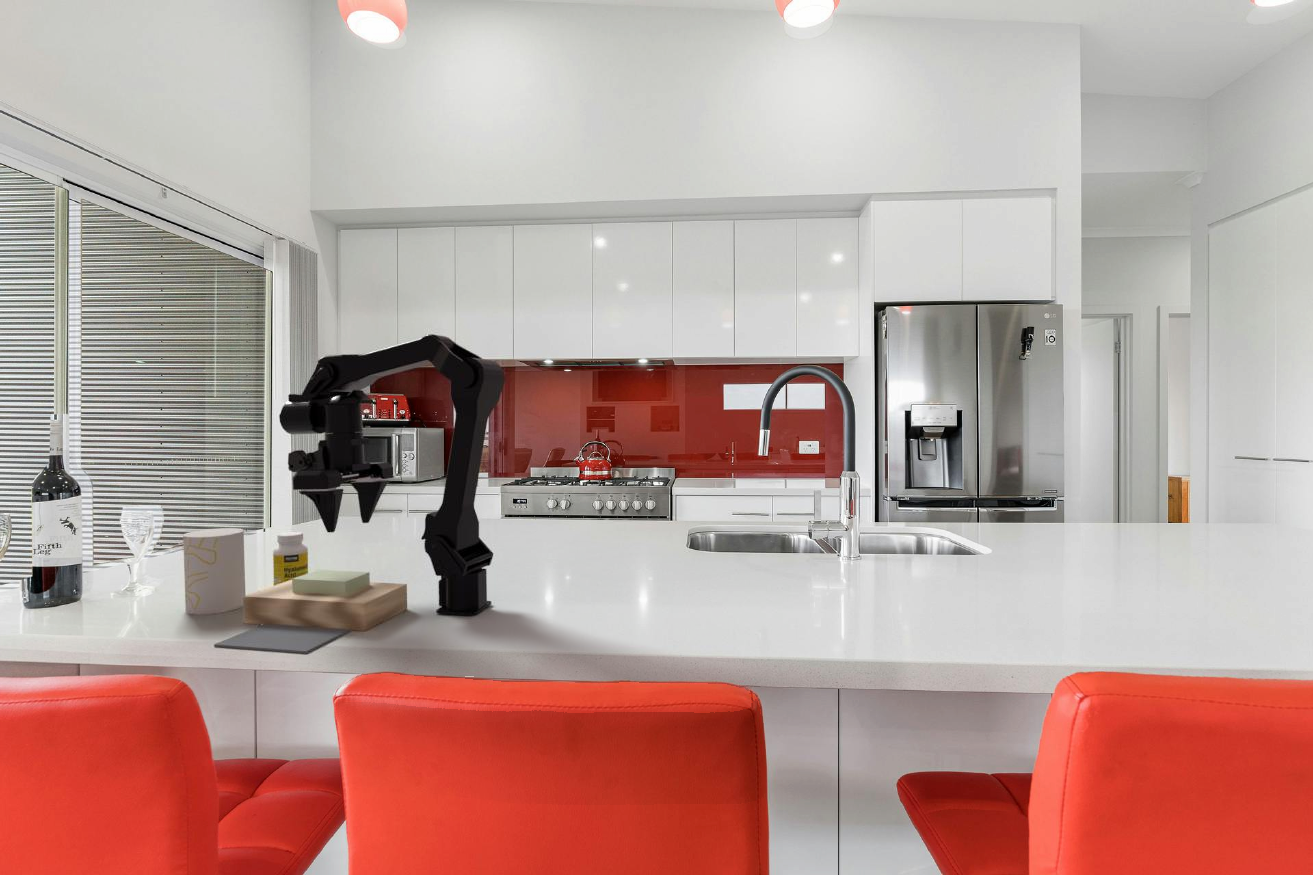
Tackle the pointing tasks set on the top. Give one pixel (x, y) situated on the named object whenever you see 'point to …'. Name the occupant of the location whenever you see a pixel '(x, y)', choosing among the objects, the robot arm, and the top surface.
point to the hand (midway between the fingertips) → (349, 527)
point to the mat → (283, 638)
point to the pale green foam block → (331, 582)
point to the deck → (325, 606)
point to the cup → (214, 570)
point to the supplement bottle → (289, 557)
